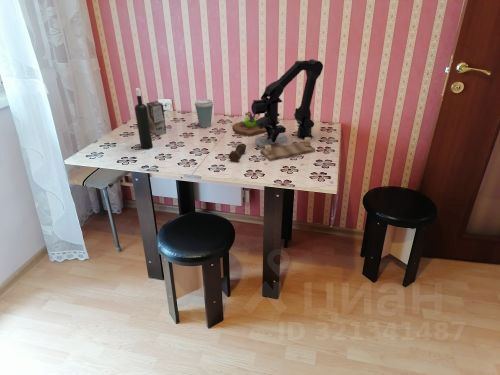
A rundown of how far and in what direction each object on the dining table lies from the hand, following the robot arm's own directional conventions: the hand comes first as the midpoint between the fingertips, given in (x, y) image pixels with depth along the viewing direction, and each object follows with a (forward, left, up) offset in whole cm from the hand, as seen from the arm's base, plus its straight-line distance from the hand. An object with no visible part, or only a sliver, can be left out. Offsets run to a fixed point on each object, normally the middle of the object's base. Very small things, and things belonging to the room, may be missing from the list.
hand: (271, 140), depth 193 cm
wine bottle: (+60, -22, -1) cm, 64 cm away
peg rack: (-1, +14, -1) cm, 15 cm away
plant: (+2, -22, -2) cm, 22 cm away
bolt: (+21, +7, -2) cm, 23 cm away
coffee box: (+50, -41, -1) cm, 65 cm away
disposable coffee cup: (+23, -39, -1) cm, 45 cm away
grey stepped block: (0, 0, -1) cm, 1 cm away
